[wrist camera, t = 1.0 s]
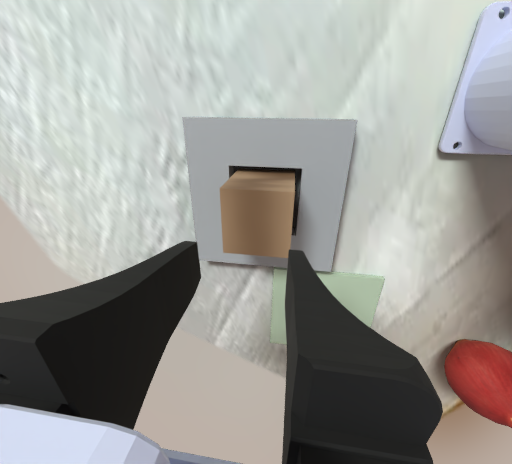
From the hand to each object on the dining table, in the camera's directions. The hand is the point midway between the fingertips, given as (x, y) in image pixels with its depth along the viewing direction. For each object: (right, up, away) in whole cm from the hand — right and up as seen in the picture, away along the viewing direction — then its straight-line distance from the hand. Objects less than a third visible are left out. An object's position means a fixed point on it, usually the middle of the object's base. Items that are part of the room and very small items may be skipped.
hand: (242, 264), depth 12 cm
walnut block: (+1, +5, +9) cm, 10 cm away
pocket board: (+1, +5, +9) cm, 10 cm away
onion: (+21, -9, +13) cm, 27 cm away
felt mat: (+7, -7, +14) cm, 17 cm away
